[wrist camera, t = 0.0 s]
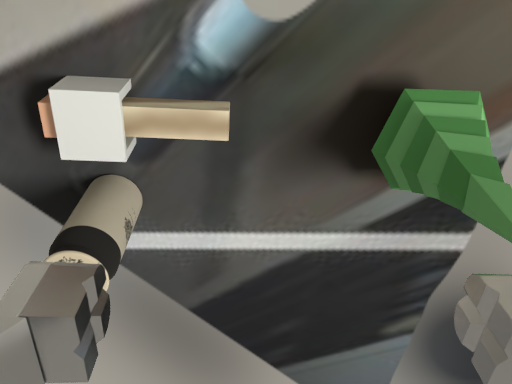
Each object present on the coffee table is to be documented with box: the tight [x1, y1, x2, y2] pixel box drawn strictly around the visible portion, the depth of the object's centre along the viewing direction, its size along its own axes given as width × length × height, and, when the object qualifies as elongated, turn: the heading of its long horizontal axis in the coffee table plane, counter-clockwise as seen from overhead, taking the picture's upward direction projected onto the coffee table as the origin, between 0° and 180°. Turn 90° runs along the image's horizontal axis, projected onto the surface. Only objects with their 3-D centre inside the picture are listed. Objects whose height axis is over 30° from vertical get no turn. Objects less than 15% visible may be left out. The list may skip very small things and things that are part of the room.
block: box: [38, 94, 57, 138], centre depth 55 cm, size 4×4×4 cm
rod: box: [122, 97, 230, 141], centre depth 56 cm, size 4×18×4 cm, turn 87°
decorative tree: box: [371, 89, 512, 243], centre depth 46 cm, size 14×16×30 cm
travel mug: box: [44, 175, 142, 291], centre depth 56 cm, size 8×8×18 cm
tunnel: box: [48, 76, 136, 162], centre depth 54 cm, size 9×8×6 cm
